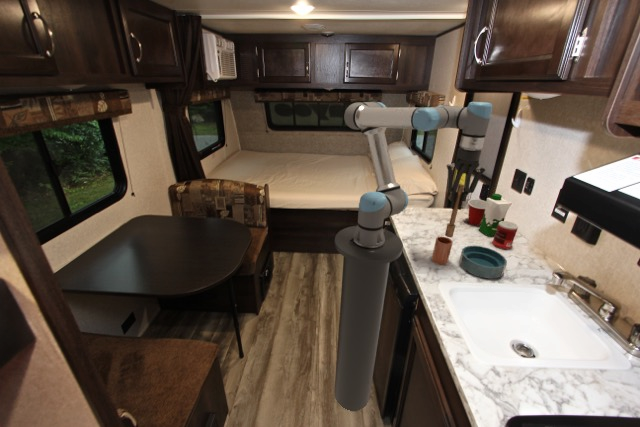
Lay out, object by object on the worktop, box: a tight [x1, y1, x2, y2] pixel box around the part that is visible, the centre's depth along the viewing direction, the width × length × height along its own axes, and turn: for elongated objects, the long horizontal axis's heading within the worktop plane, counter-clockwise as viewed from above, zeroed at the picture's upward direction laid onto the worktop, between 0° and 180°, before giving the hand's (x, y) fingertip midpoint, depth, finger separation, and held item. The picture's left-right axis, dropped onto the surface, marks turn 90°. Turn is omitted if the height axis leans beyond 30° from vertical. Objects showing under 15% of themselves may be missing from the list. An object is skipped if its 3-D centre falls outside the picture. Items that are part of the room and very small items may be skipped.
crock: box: [431, 236, 454, 266], centre depth 123 cm, size 6×6×10 cm
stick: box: [444, 183, 464, 238], centre depth 115 cm, size 3×3×22 cm
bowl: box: [458, 245, 508, 279], centre depth 120 cm, size 16×16×6 cm
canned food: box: [492, 220, 519, 250], centre depth 136 cm, size 8×8×11 cm
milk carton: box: [478, 193, 512, 237], centre depth 145 cm, size 9×9×20 cm
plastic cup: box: [467, 198, 487, 226], centre depth 156 cm, size 11×11×12 cm
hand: (455, 208), depth 114 cm, fingers closed on stick, 2 cm apart
